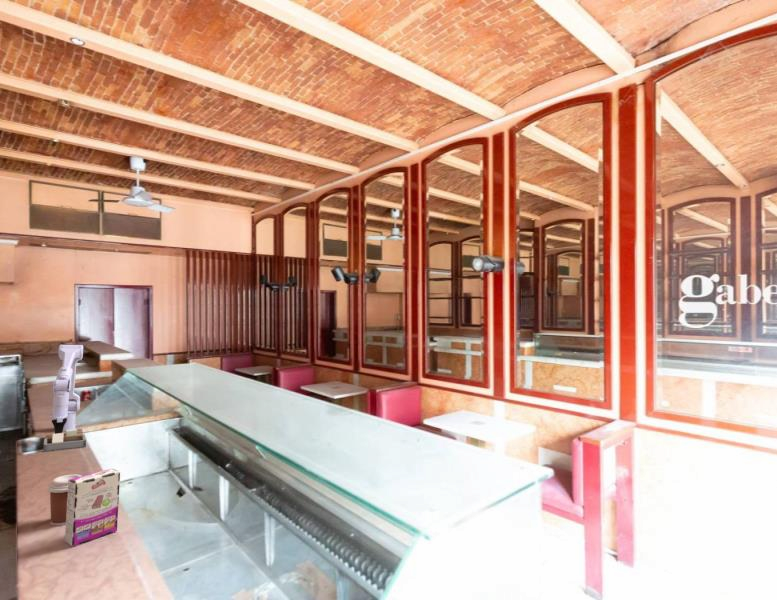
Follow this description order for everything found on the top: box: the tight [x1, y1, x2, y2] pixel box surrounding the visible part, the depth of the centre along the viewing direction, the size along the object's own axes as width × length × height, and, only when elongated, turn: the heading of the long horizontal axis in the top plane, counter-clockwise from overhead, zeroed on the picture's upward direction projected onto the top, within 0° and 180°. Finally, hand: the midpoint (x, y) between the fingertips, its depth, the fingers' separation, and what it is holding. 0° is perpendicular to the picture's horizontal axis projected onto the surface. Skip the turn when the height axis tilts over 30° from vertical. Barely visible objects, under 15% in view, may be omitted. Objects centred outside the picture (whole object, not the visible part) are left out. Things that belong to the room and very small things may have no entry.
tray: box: [43, 433, 87, 453], centre depth 198 cm, size 12×15×3 cm
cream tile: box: [52, 433, 64, 443], centre depth 200 cm, size 4×4×2 cm
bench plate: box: [45, 428, 84, 444], centre depth 209 cm, size 14×14×2 cm
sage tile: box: [66, 428, 78, 436], centre depth 208 cm, size 4×4×2 cm
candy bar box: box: [64, 468, 121, 548], centre depth 119 cm, size 11×5×16 cm, turn 148°
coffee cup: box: [46, 473, 82, 527], centre depth 128 cm, size 9×9×12 cm
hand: (58, 435), depth 203 cm, fingers closed
